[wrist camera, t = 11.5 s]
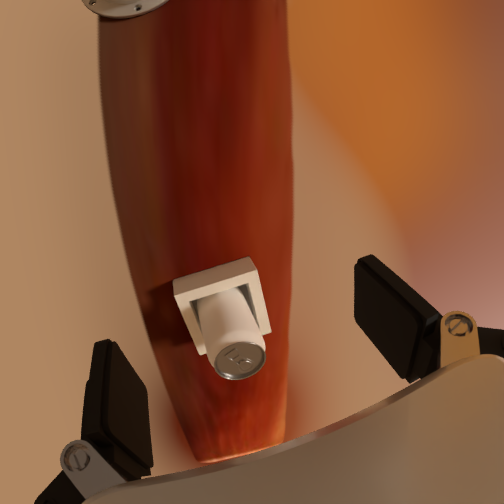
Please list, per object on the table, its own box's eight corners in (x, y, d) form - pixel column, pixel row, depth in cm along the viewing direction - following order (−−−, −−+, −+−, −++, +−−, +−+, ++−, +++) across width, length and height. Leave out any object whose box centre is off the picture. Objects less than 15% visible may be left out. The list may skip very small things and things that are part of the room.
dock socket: (172, 280, 40) (174, 295, 37) (249, 256, 41) (257, 269, 38) (196, 337, 45) (199, 355, 41) (263, 316, 46) (271, 332, 43)
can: (216, 327, 44) (234, 390, 34) (186, 300, 41) (197, 363, 30) (252, 301, 44) (280, 360, 33) (224, 271, 41) (247, 328, 30)
